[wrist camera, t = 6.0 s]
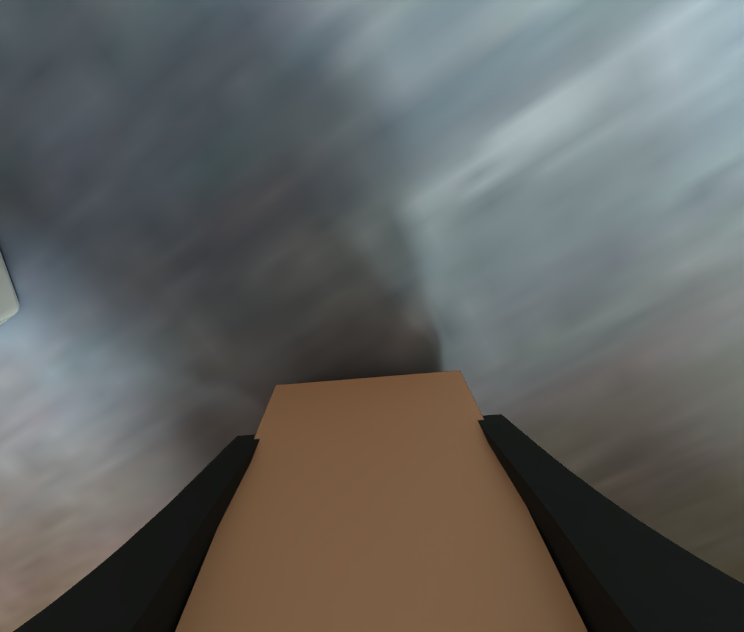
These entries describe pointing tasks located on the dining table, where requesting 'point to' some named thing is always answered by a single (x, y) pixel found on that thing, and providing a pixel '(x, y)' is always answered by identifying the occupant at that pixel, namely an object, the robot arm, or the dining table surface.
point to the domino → (377, 521)
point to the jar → (7, 294)
